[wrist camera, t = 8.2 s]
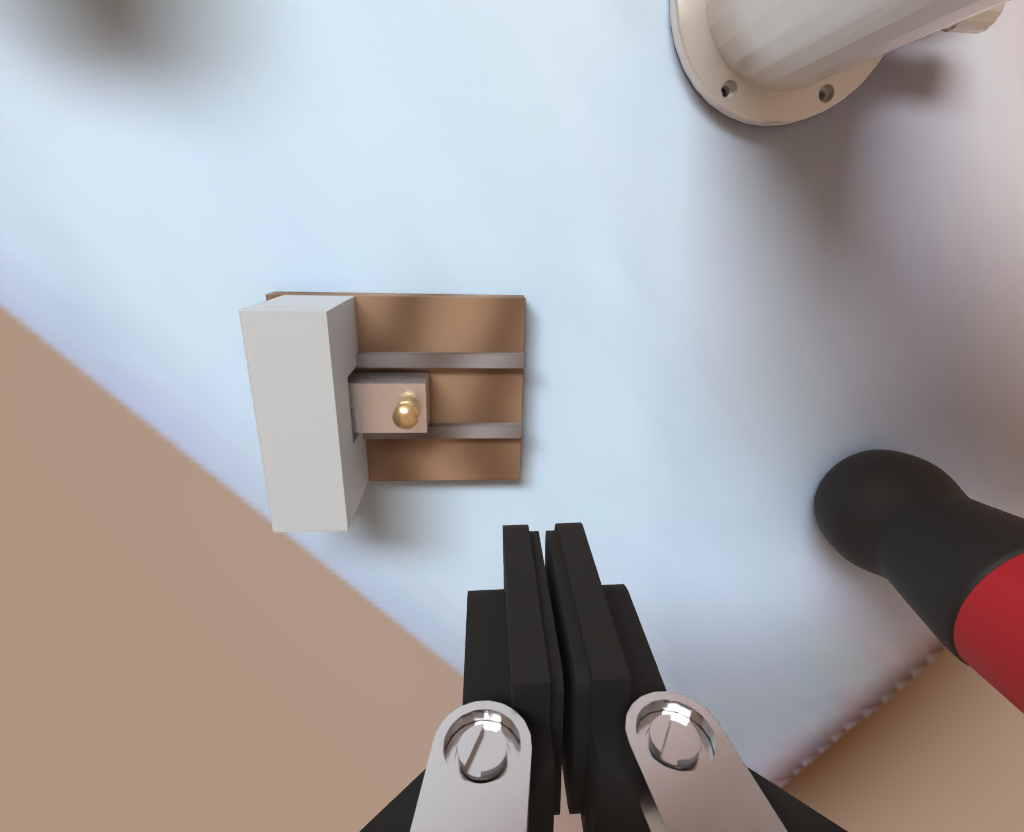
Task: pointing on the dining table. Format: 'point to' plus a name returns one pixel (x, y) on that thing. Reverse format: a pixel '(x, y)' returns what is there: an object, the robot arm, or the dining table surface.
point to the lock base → (446, 381)
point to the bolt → (389, 402)
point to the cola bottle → (935, 555)
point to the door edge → (306, 409)
